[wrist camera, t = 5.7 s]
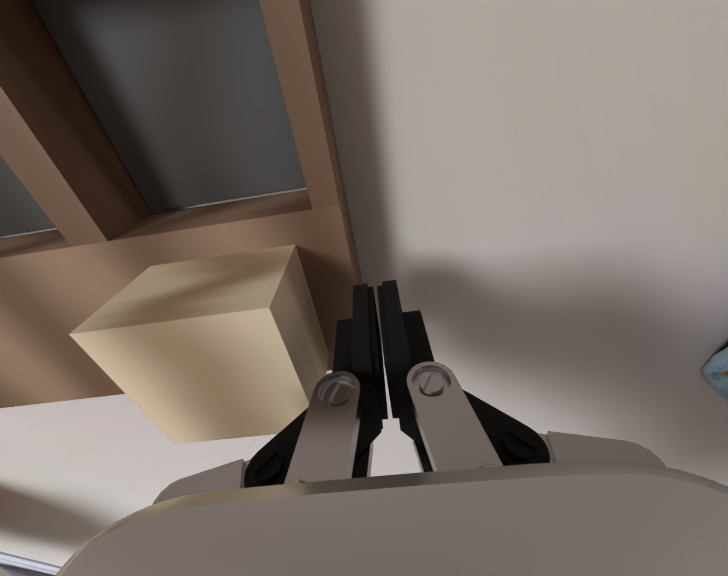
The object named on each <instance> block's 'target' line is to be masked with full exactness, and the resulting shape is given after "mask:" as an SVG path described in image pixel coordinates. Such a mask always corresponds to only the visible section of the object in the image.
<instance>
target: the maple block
mask: <svg viewBox="0 0 728 576" xmlns="http://www.w3.org/2000/svg"><path fill="white" fill-rule="evenodd" d="M69 335H70V336H71V337H72V338H73V339H74V340H75V341H76V342H77V343H78V344H79V345H80V346H81V348H82V349H83V350H84V351H85V352H86V353H87V354H88V355H89V356H90V357H91V358H92V359H93V360H94V361H95V362H96V363H97V364H98V365H99V366H100V367H101V368H102V370H103V371H104V372H105V373H106V374H107V375H108V376H109V377H110V378H111V379H112V380H113V381H114V382H115V383H116V384H117V385H118V386H119V387H120V388H121V389H122V391H123V392H124V393H125V394H126V395H127V396H128V397H129V398H130V399H131V400H132V401H133V402H134V403H135V404H136V405H137V406H138V407H139V408H140V409H141V410H142V411H143V413H144V414H145V415H146V416H147V417H148V418H149V419H150V420H151V421H152V422H153V423H154V424H155V425H156V426H157V427H158V428H159V429H160V430H161V431H162V432H163V434H164V435H165V436H166V437H167V438H168V439H169V440H170V441H171V442H172V443H173V444H180V443H190V442H200V441H210V440H220V439H230V438H240V437H250V436H260V435H270V434H278V433H279V432H281V431H282V430H283V429H284V428H285V427H286V426H287V425H289V424H290V423H291V422H292V421H293V420H294V419H295V418H296V417H298V416H299V415H300V414H301V413H302V412H303V411H304V410H305V409H307V408H308V407H309V403H310V400H311V397H312V394H313V391H314V388H315V386H316V384H317V383H318V382H319V381H320V380H321V378H323V377H324V376H326V372H327V364H328V355H329V352H328V349H327V346H326V343H325V339H324V336H323V333H322V330H321V326H320V323H319V320H318V317H317V314H316V310H315V307H314V304H313V301H312V297H311V294H310V291H309V288H308V284H307V281H306V278H305V275H304V271H303V268H302V265H301V262H300V258H299V255H298V252H297V249H296V245H290V246H283V247H276V248H269V249H263V250H256V251H249V252H242V253H235V254H229V255H222V256H215V257H208V258H201V259H195V260H188V261H181V262H174V263H167V264H161V265H154V266H150V267H148V268H147V269H146V270H145V271H144V272H142V273H141V274H140V275H139V276H138V277H137V278H135V279H134V280H133V281H132V282H131V283H129V284H128V285H127V286H126V287H125V288H123V289H122V290H121V291H120V292H119V293H117V294H116V295H115V296H114V297H113V298H112V299H110V300H109V301H108V302H107V303H106V304H104V305H103V306H102V307H101V308H100V309H98V310H97V311H96V312H95V313H94V314H92V315H91V316H90V317H89V318H88V319H86V320H85V321H84V322H83V323H82V324H81V325H79V326H78V327H77V328H76V329H75V330H73V331H72V332H71V333H70V334H69Z"/></svg>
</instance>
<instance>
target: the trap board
mask: <svg viewBox="0 0 728 576" xmlns="http://www.w3.org/2000/svg"><path fill="white" fill-rule="evenodd" d="M306 186H307V189H306V190H300V191H294V192H288V193H281V194H275V195H269V196H263V197H256V198H250V199H244V200H238V201H231V202H225V203H219V204H213V205H207V206H200V207H194V208H188V209H182V210H175V211H169V212H163V213H157V214H153V213H152V211H157V210H163V209H169V208H176V207H182V206H188V205H194V204H200V203H207V202H213V201H219V200H225V199H231V198H238V197H244V196H250V195H256V194H262V193H269V192H275V191H281V190H287V189H294V188H300V187H306ZM52 227H56V228H57V230H51V231H45V232H38V233H32V234H26V235H20V236H13V237H7V238H1V239H0V408H5V407H14V406H22V405H31V404H40V403H49V402H57V401H66V400H75V399H84V398H92V397H101V396H110V395H118V394H125V393H124V392H123V391H122V389H121V388H120V387H119V386H118V385H117V384H116V383H115V382H114V381H113V380H112V379H111V378H110V377H109V376H108V375H107V374H106V373H105V372H104V371H103V370H102V368H101V367H100V366H99V365H98V364H97V363H96V362H95V361H94V360H93V359H92V358H91V357H90V356H89V355H88V354H87V353H86V352H85V351H84V350H83V349H82V348H81V346H80V345H79V344H78V343H77V342H76V341H75V340H74V339H73V338H72V337H71V336H70V335H69V334H70V333H71V332H72V331H73V330H75V329H76V328H77V327H78V326H79V325H81V324H82V323H83V322H84V321H85V320H86V319H88V318H89V317H90V316H91V315H92V314H94V313H95V312H96V311H97V310H98V309H100V308H101V307H102V306H103V305H104V304H106V303H107V302H108V301H109V300H110V299H112V298H113V297H114V296H115V295H116V294H117V293H119V292H120V291H121V290H122V289H123V288H125V287H126V286H127V285H128V284H129V283H131V282H132V281H133V280H134V279H135V278H137V277H138V276H139V275H140V274H141V273H142V272H144V271H145V270H146V269H147V268H148V267H150V266H154V265H161V264H167V263H174V262H181V261H188V260H195V259H201V258H208V257H215V256H222V255H229V254H235V253H242V252H249V251H256V250H263V249H269V248H276V247H283V246H290V245H296V249H297V252H298V255H299V258H300V262H301V265H302V268H303V271H304V275H305V278H306V281H307V284H308V288H309V291H310V294H311V297H312V301H313V304H314V307H315V310H316V314H317V317H318V320H319V323H320V326H321V330H322V333H323V336H324V339H325V343H326V346H327V349H328V352H329V355H328V364H327V371H328V370H333V360H334V350H335V339H336V328H337V321H338V320H343V319H351V318H352V315H353V286H354V285H361V284H362V281H361V276H360V270H359V265H358V260H357V254H356V249H355V243H354V238H353V233H352V227H351V222H350V216H349V211H348V206H347V200H346V195H345V189H344V184H343V179H342V173H341V168H340V162H339V157H338V152H337V146H336V141H335V136H334V130H333V125H332V119H331V114H330V109H329V103H328V98H327V92H326V87H325V82H324V76H323V71H322V65H321V60H320V55H319V49H318V44H317V38H316V33H315V28H314V22H313V17H312V12H311V6H310V1H309V0H0V236H2V235H8V234H14V233H21V232H27V231H33V230H39V229H45V228H52Z"/></svg>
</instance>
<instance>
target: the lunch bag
mask: <svg viewBox="0 0 728 576" xmlns="http://www.w3.org/2000/svg"><path fill="white" fill-rule="evenodd" d="M702 374H703V376H704V378H705V379H706V381H707V382H708V383H709V384H710V386H711V387H713V388H714V389H715V390H716V391H717V392H718V393H719V394H720V395H721V396H722V397H723V398H724V399H726V400H727V401H728V347H726V348H725V349H723V350H722V351H720V352H718V353H716V354H715V355H713V356H712V357H711V358H710V360H709V361H708V362H707V363H706V364H705V365H704V366H703V369H702Z"/></svg>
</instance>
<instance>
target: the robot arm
mask: <svg viewBox="0 0 728 576" xmlns="http://www.w3.org/2000/svg"><path fill="white" fill-rule="evenodd" d="M377 290H378V301H379V311H380V322H381V332H382V343H383V353H384V362H385V369H386V376H387V382H388V389H389V396H390V402H391V409H392V416H393V418H399V421H400V429H401V431H403V432H404V433H405V434H406V435H408V436H409V437H410V438H412V441H413V446H414V449H415V452H416V456H417V459H418V462H419V465H420V469H421V472H422V473H410V474H398V475H386V476H374V477H370V475H371V465H372V456H373V441H374V440H375V438H376V437H377V436H378V435H379V434H380V433H381V429H383V424H382V419H388V413H387V402H386V390H385V379H384V368H383V357H382V346H381V337H380V330H379V324H378V317H377V310H376V304H375V297H374V290H373V287H368V285H367V284H361V285H354V286H353V315H352V318H351V319H343V320H338V321H337V328H336V339H335V350H334V360H333V371H332V373H330V374H327V375H326V376H324V377H323V378H321V380H320V381H319V382H318V383H317V384H316V386H315V388H314V391H313V394H312V397H311V400H310V403H309V407H308V408H307V409H305V410H304V411H303V412H302V413H301V414H300V415H299V416H298V417H296V418H295V419H294V420H293V421H292V422H291V423H290V424H289V425H287V426H286V427H285V428H284V429H283V430H282V431H281V432H279V433H278V434H277V435H276V436H275V437H274V438H273V439H272V440H270V441H269V442H268V443H267V444H266V445H265V446H264V447H263V448H261V449H260V450H259V451H258V452H257V453H256V454H255V455H254V456H253V458H252V459H251V460H248V461H244V460H243V459H240V460H237V461H234V462H231V463H228V464H225V465H222V466H219V467H216V468H213V469H210V470H207V471H204V472H201V473H198V474H195V475H192V476H189V477H185V478H182V479H179V480H177V481H175V482H174V483H172V484H170V485H169V486H168V487H166V488H165V489H164V490H163V491H162V492H161V493H160V494H159V496H158V497H157V498H156V500H155V501H154V503H153V505H151V506H148V507H146V508H144V509H141V510H139V511H137V512H134V513H132V514H130V515H128V516H126V517H124V518H122V519H121V520H119V521H117V522H115V523H113V524H112V525H110V526H108V527H107V528H105V529H103V530H102V531H101V532H99V533H98V534H96V535H95V536H93V537H92V538H91V539H90V540H88V541H87V542H86V543H85V544H83V545H82V546H81V547H80V548H79V549H78V550H77V551H76V552H75V553H74V554H73V555H72V556H71V557H70V558H69V560H68V561H67V562H66V563H65V564H64V566H63V567H62V568H61V569H60V570H59V572H58V573H57V574H56V576H728V486H725V485H723V484H720V483H718V482H715V481H712V480H709V479H707V478H704V477H701V476H697V475H694V474H691V473H688V472H684V471H681V470H677V469H673V468H668V467H666V466H665V464H664V463H663V462H662V460H661V459H660V458H658V457H657V456H656V455H655V454H653V453H652V452H651V451H650V450H648V449H646V448H644V447H642V446H640V445H638V444H636V443H632V442H628V441H623V440H615V439H607V438H599V437H591V436H583V435H575V434H567V433H559V432H551V431H548V432H547V434H539V433H536V432H535V431H534V430H532V429H531V428H529V427H528V426H526V425H524V424H523V423H521V422H519V421H517V420H516V419H514V418H512V417H510V416H509V415H507V414H505V413H503V412H502V411H500V410H498V409H496V408H494V407H493V406H491V405H489V404H487V403H486V402H484V401H482V400H480V399H479V398H477V397H475V396H473V395H472V394H470V393H468V392H466V391H464V390H463V389H462V388H461V386H460V384H459V382H458V380H457V379H456V377H455V375H454V374H453V372H452V371H451V370H450V369H449V368H448V367H446V366H445V365H443V364H440V363H438V362H434V358H433V355H432V351H431V347H430V344H429V340H428V337H427V333H426V330H425V326H424V322H423V319H422V315H421V312H420V310H418V311H410V312H402V309H401V304H400V299H399V294H398V289H397V284H396V280H392V281H384V282H382V286H377Z"/></svg>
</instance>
